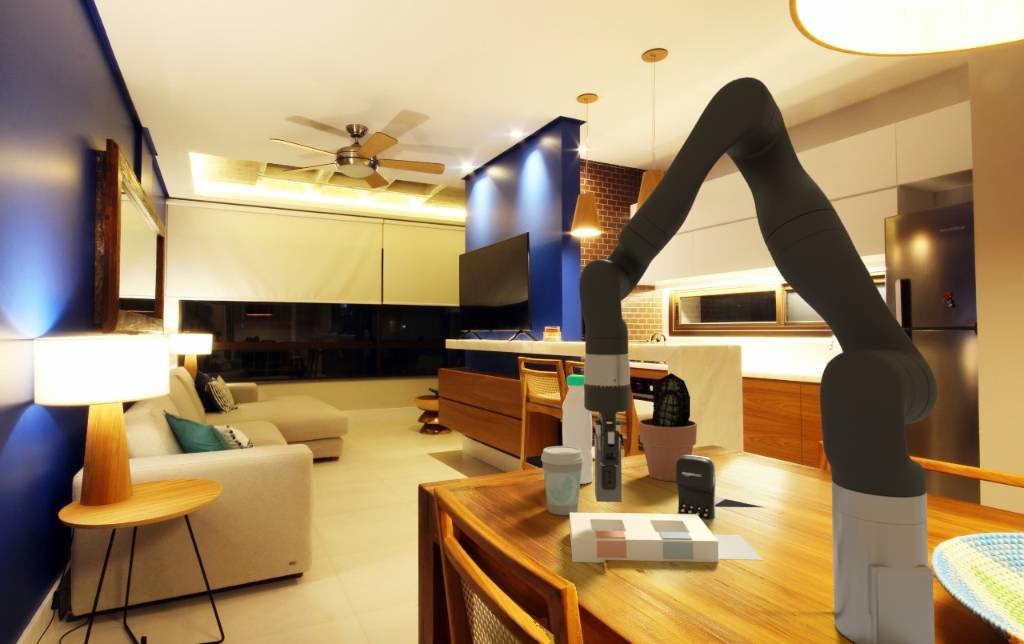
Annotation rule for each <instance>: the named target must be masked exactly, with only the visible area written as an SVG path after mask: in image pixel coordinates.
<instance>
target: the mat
mask: <svg viewBox="0 0 1024 644" xmlns="http://www.w3.org/2000/svg"><path fill="white" fill-rule="evenodd" d="M713 535H714V536H715V538H716V539H717V540H718V560H729V561H730V560H731V561H732V560H734V561H735V560H736V561H737V560H738V561H739V560H740V561H741V560H742V561H764V559H763V558H762V556H761V555H759V553H758V552H757V551H756V550H755V549H754V548H753V547H752V546H751V545H750V543H749V542H748V541H747V540H746V539H745V538H744V537H743V536H742V535H740V534H713Z"/></svg>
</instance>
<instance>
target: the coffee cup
mask: <svg viewBox="0 0 1024 644" xmlns="http://www.w3.org/2000/svg"><path fill="white" fill-rule="evenodd" d="M540 457H541V458H540V461H541V462H542V469H543V470H542V471H543V479H544V486H545V488H544V489H545V495H546V504H547V510H548V511H547V512H549V513H550V514H554V515H556V514H557V515H558V516H570V512H572V513H578V508H579V500H580V498H579V497H580V491H581V490H580V487H581V485H580V480H581V469H582V462H583V461H584V459H583V455H582V452H581V450H580V449H579V448H576V447H570V446H563V445H555V446H554V445H553V446H548V447H545V448H543V450H542V454H541V456H540ZM557 515H556V516H557Z"/></svg>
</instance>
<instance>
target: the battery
mask: <svg viewBox="0 0 1024 644" xmlns="http://www.w3.org/2000/svg"><path fill="white" fill-rule="evenodd" d="M675 484H676V485H677V492H678V504H677V505H678V507H677V512H678V513H677V514H697V515H698V516H699V517H700V519H701V520H702V519H703V520H713V519H714V518H715V517H716V507H715V497H716V486H717V484H716V466H715V463H714V461H713V460H712V459H711V458H709V457H706V456H700V455H699V456H698V455H693V454H691V455H683V456H681V457H680V458H679V459H678V460H677V462H676V481H675Z"/></svg>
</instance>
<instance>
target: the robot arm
mask: <svg viewBox="0 0 1024 644" xmlns="http://www.w3.org/2000/svg"><path fill="white" fill-rule="evenodd" d="M725 154H726V155H728V157H729V158H730V159H731V160H732V162H733V163H734V165H735V166H736V168H737V169H738V171H739V172H740V174H741V176H742V178H743V179H744V181H745V182H746V184H747V186H748V188H749V189H750V193H751V195H752V198H753V201H754V202H753V203H754V209H755V214H756V218H757V222H758V223H757V224H758V227H759V230H760V233H761V237H762V238H763V242H764V243H765V244H764V245H765V246H766V249H767V250H768V252H769V255H770V257H771V258H772V261H773V264H774V265H775V267H776V269H777V271H778V272H779V273H780V275H781V277H782V279H783V280H784V281H785V282H786V283H787V285H788V286H789V287H790V288H791V289H793V291H794V292H795V293H796V294H797V295H798V297H800V298H801V299H802V300H803V301H804V302H806V304H807V305H808V306H809V307H811V308H812V309H813V311H815V312H816V314H818V315H819V316H820V318H821V319H822V320H823V321H824V322H825V323H826V325H827V326H828V327H829V329H830V330H831V332H832V333H833V334H834V335H833V336H834V337H835V339H836V340H837V342H838V344H839V347H840V348H841V351H842V352H841V353H839V354H837V355H835V356H833V358H831V359H830V360H829V361H828V363H827V364H826V366H825V367H824V370H823V372H822V376H821V379H820V386H819V407H820V419H821V420H820V421H821V432H822V433H821V434H822V435H821V436H822V446H823V452H824V455H825V458H826V461H827V462H828V464H829V467H830V471H831V513H832V514H831V517H832V518H831V520H832V521H831V522H832V523H831V525H832V526H831V527H832V567H833V568H832V572H833V578H832V579H833V581H832V582H833V611H834V612H833V616H834V621H833V622H834V627H836V629H837V630H838V632H839V633H840V634H842V635H843V636H844V637H845V638H847V639H849V640H850V641H852V642H854V643H855V644H935V641H936V640H935V609H934V607H935V604H934V602H935V601H934V600H935V599H934V572H933V570H932V568H931V567H929V548H928V546H929V545H928V500H927V499H928V495H927V494H928V493H927V491H928V489H927V488H928V487H927V473H926V469H925V468H924V467H923V465H922V464H921V463H919V462H918V461H915V460H913V459H912V458H911V456H910V455H909V451H908V447H907V446H908V445H907V444H908V442H907V431H906V425H909V424H913V423H917V422H920V421H921V420H923V419H925V418H926V417H928V416H929V415H930V414H931V413H932V411H933V410H934V409H935V406H936V403H937V400H938V391H939V390H938V384H937V380H936V377H935V374H934V372H933V370H932V369H931V367H930V365H929V363H928V362H927V360H926V358H925V357H924V356H923V354H922V353H921V351H920V350H919V349H918V348H917V347H918V346H916V345H915V343H914V342H913V340H912V339H911V337H909V335H908V334H907V332H906V331H905V330H904V328H903V326H902V325H901V324H900V322H899V320H897V318H896V317H895V315H894V314H893V312H892V311H891V309H890V308H889V306H888V304H886V303H887V302H886V301H885V299H884V298H883V296H882V294H881V293H880V290H879V289H878V286H877V285H876V283H875V281H874V279H873V277H872V274H871V273H870V271H869V270H868V268H867V266H866V265H865V263H864V260H863V259H862V257H861V256H860V254H859V252H858V250H857V248H856V247H855V245H854V244H855V243H854V242H853V240H852V238H851V236H850V234H849V232H848V230H847V229H846V226H845V225H844V223H843V222H842V219H841V217H840V216H839V214H838V212H837V211H836V209H835V207H834V205H833V204H832V202H831V201H830V199H829V198H828V197H827V195H826V194H825V192H824V191H823V190H822V188H821V187H820V186H819V185H818V183H817V182H816V181H815V180H814V178H812V177H811V175H810V174H809V173H808V172H807V171H806V169H805V168H804V167H803V165H802V163H801V162H800V159H799V158H798V155H797V153H796V151H795V148H794V146H793V143H792V141H791V137H790V135H789V131H788V129H787V127H786V122H785V120H784V117H783V114H782V111H781V109H780V107H779V106H778V104H777V102H776V100H775V98H774V96H773V95H772V93H771V92H770V90H769V88H768V87H767V85H766V84H765V83H764V82H763V81H761V80H760V79H758V78H756V77H753V76H752V77H751V76H749V77H748V76H744V77H739V78H736V79H732V80H731V81H729V82H727V83H726V84H725V85H723V86H722V87H721V88H720V89H719V90H717V92H716V93H715V94H714V95H713V96H712V98H711V99H710V100H709V102H708V104H707V105H706V106H705V108H703V111H702V113H701V115H700V116H699V118H698V119H697V121H696V123H695V125H694V126H693V128H692V129H691V131H690V132H689V134H688V136H687V138H686V139H685V141H684V143H683V144H682V146H681V148H680V149H679V150H678V152H677V154H676V156H675V157H674V159H673V161H672V163H670V166H669V167H668V169H667V170H666V172H665V173H664V175H663V176H662V178H661V179H660V181H659V182H658V183H657V185H656V186H655V188H654V189H653V191H652V192H651V193H650V195H649V196H648V197H647V198H646V199H645V201H644V202H643V203H642V204H641V206H640V207H639V208H638V209H637V211H635V213H634V214H633V215H632V217H631V218H630V219H629V220H628V222H627V223H626V224H625V225H624V227H623V228H622V229H621V231H620V232H619V235H618V237H617V245H616V247H615V248H614V249H613V251H612V252H611V254H610V256H609V257H608V258H607V259H602V258H599V259H594V260H592V261H590V262H589V263H587V264H586V266H585V267H584V268H583V269H582V271H581V274H580V278H579V285H578V287H579V288H578V292H579V301H580V306H581V311H582V318H583V321H584V324H585V337H584V338H585V339H584V340H585V344H584V345H585V347H584V348H585V350H584V351H585V355H584V357H585V358H584V365H583V375H584V407H585V409H586V410H588V411H591V413H592V412H593V413H598V417H596V419H594V425H593V426H594V430H595V435H596V436H597V439H598V450H599V451H600V452H601V461H600V464H601V466H602V488H603V489H604V490H614V489H616V467H617V465H618V463H619V460H618V456H619V449H620V444H619V437H621V429H622V428H621V422H619V419H617V416H616V415H617V413H625V412H628V411H630V409H631V367H630V360H629V330H628V324H627V323H626V321H625V320H624V318H623V311H622V301H623V300H625V299H626V298H627V297H628V296H629V295H630V294H631V293H632V291H634V289H636V286H637V285H638V284H639V283H640V281H641V280H642V278H643V276H644V274H645V273H646V271H647V270H648V268H649V267H650V265H651V263H652V261H653V260H654V259H655V258H656V257H657V256H658V255H659V254H660V253H661V252H662V251H663V250H664V248H665V247H666V246H667V245H668V244H669V243H670V241H671V240H672V239H673V238H674V236H676V235H677V234H678V232H679V230H680V229H681V228H682V226H683V225H684V223H685V221H686V220H687V218H688V216H689V214H690V212H691V210H692V208H693V205H694V203H695V201H696V199H697V196H698V194H699V192H700V189H701V187H702V185H703V183H704V181H706V178H707V176H708V175H709V173H710V172H711V170H712V169H713V167H715V164H716V163H717V162H719V160H720V159H721V157H723V155H725ZM601 440H602V444H601ZM606 453H613V457H606Z"/></svg>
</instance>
